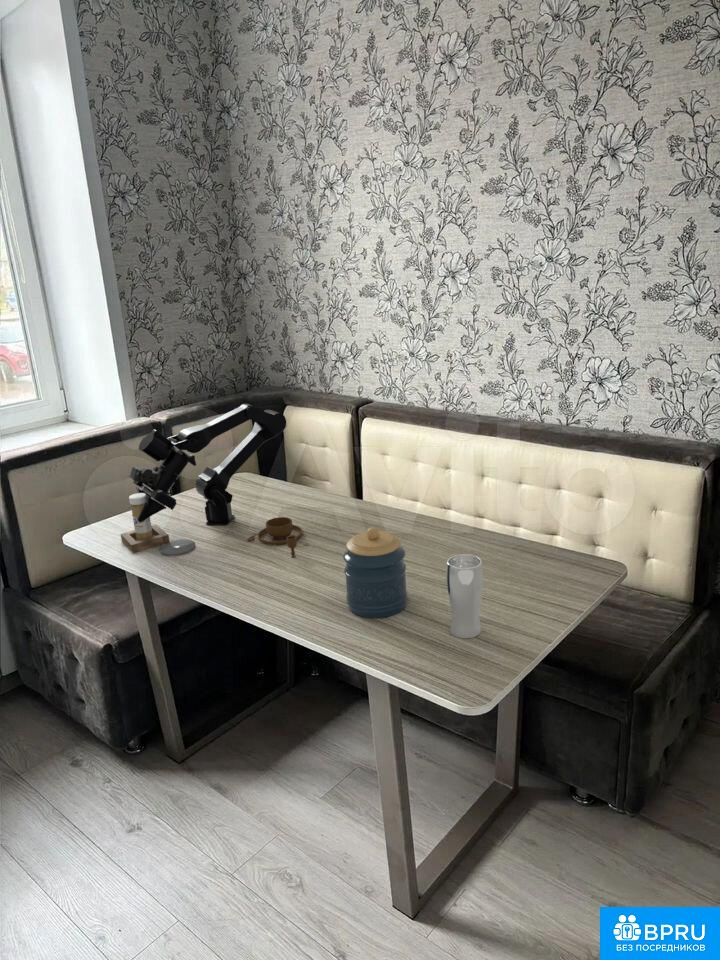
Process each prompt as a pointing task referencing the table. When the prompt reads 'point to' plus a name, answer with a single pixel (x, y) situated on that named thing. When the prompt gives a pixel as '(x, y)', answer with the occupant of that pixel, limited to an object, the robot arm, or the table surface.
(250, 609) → the table surface
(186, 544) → the coaster
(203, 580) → the table surface
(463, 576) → the beer glass
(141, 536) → the sprinkles bottle
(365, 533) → the canister
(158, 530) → the square wooden frame
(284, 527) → the place setting
